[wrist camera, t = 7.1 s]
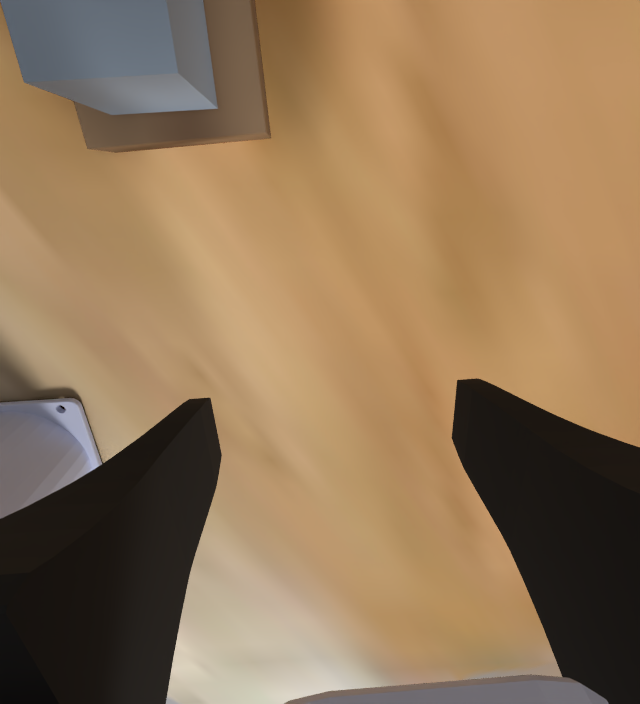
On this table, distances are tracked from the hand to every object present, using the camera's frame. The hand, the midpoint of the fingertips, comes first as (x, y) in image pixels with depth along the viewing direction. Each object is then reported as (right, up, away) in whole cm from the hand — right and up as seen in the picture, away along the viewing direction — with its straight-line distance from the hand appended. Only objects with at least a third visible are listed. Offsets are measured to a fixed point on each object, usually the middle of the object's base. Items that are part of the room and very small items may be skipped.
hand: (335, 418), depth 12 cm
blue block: (-6, +13, +3) cm, 15 cm away
